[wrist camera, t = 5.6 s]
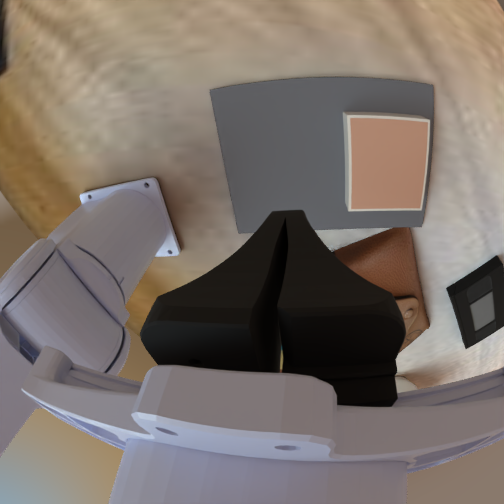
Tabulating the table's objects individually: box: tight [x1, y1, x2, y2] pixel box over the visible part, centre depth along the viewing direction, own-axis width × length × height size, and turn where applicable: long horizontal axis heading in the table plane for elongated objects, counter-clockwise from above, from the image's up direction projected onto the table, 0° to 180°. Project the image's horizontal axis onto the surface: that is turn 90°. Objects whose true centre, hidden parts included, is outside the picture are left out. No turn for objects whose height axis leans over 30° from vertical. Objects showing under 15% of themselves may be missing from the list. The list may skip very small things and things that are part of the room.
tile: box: [343, 112, 430, 211], centre depth 17 cm, size 2×7×6 cm
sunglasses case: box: [332, 227, 430, 353], centre depth 25 cm, size 18×7×7 cm
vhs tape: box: [446, 256, 504, 349], centre depth 25 cm, size 8×14×2 cm, turn 43°
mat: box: [210, 77, 434, 233], centre depth 18 cm, size 16×12×1 cm
